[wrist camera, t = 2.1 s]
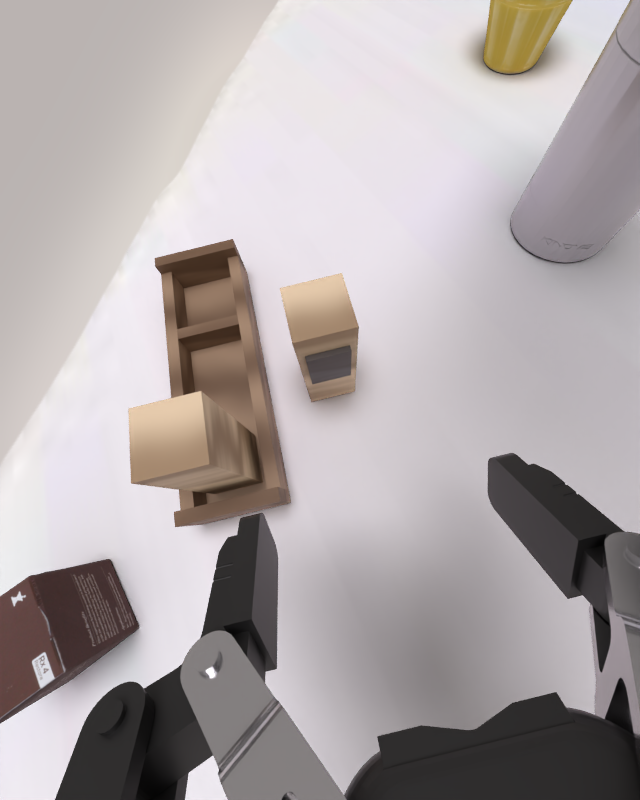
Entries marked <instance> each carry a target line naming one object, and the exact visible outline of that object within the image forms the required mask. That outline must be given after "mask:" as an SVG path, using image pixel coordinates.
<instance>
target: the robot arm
mask: <svg viewBox="0 0 640 800" xmlns="http://www.w3.org/2000/svg"><path fill="white" fill-rule="evenodd" d="M639 210H640V0H630V2H629V4H628V5H627V7H626V9H625V11H624V13H623V14H622V16H621V18H620V20H619V22H618V24H617V26H616V28H615V29H614V31H613V33H612V35H611V37H610V38H609V40H608V42H607V44H606V46H605V47H604V49H603V51H602V53H601V55H600V56H599V58H598V60H597V62H596V64H595V65H594V67H593V69H592V71H591V73H590V74H589V76H588V78H587V80H586V82H585V83H584V85H583V87H582V89H581V91H580V92H579V94H578V96H577V98H576V100H575V101H574V103H573V105H572V107H571V109H570V110H569V112H568V114H567V116H566V118H565V119H564V121H563V123H562V125H561V127H560V128H559V130H558V132H557V134H556V136H555V137H554V139H553V141H552V143H551V145H550V146H549V148H548V150H547V152H546V154H545V155H544V157H543V159H542V161H541V163H540V164H539V166H538V168H537V170H536V172H535V173H534V175H533V177H532V179H531V180H530V182H529V184H528V186H527V188H526V189H525V191H524V193H523V195H522V197H521V198H520V200H519V202H518V204H517V206H516V208H515V210H514V211H513V213H512V217H511V229H512V231H513V234H514V236H515V238H516V239H517V241H518V242H519V243H520V244H521V245H522V246H523V247H524V248H525V249H526V250H528V251H529V252H531V253H533V254H534V255H536V256H539V257H541V258H543V259H547V260H551V261H555V262H576V261H580V260H584V259H587V258H589V257H591V256H593V255H595V254H596V253H597V252H599V251H600V250H601V249H602V248H603V247H604V246H605V245H606V244H607V243H608V242H609V241H610V240H611V239H612V238H613V237H614V235H615V234H616V233H617V232H618V231H619V230H620V229H621V228H622V227H623V226H624V225H625V224H626V223H627V222H628V221H629V220H630V219H631V218H632V217H633V216H634V215H635V214H636V213H637V212H638V211H639ZM488 496H489V499H490V502H491V504H492V506H493V508H494V509H495V511H496V512H497V513H498V514H499V515H500V517H501V518H502V519H503V520H504V522H505V523H506V524H507V525H508V526H509V528H510V529H511V530H512V531H513V532H514V534H515V535H516V536H517V537H518V539H519V540H520V541H521V542H522V543H523V545H524V546H525V547H526V548H527V550H528V551H529V552H530V553H531V554H532V556H533V557H534V558H535V559H536V561H537V562H538V563H539V564H540V565H541V567H542V568H543V569H544V570H545V572H546V573H547V574H548V575H549V576H550V578H551V579H552V580H553V581H554V582H555V584H556V585H557V586H558V587H559V589H560V590H561V591H562V592H563V593H564V595H565V596H566V597H567V598H568V599H569V598H573V597H577V596H581V595H583V596H584V597H585V598H586V599H587V600H588V601H589V602H590V607H589V613H590V623H591V634H592V644H593V654H594V665H595V675H596V692H595V715H594V714H591V713H588V712H585V711H581V710H577V709H573V708H566V707H565V706H564V704H563V702H562V701H561V699H560V697H559V696H558V694H557V693H556V692H555V693H551V694H547V695H543V696H539V697H535V698H531V699H527V700H523V701H519V702H515V703H512V704H510V705H509V706H508V707H506V708H505V709H503V710H502V711H501V712H499V713H498V714H496V715H495V716H494V717H492V718H491V719H490V720H488V721H487V722H485V723H484V724H483V725H481V726H480V727H478V728H477V729H475V730H459V729H450V728H440V727H430V726H418V727H414V728H410V729H406V730H402V731H398V732H394V733H390V734H385V735H381V736H377V737H378V742H379V747H380V752H378V753H377V754H375V755H374V756H373V757H371V758H370V759H369V760H368V761H367V762H366V763H365V764H364V765H363V766H362V768H361V769H360V770H359V771H358V773H357V774H356V775H355V777H354V778H353V780H352V782H351V783H350V785H349V787H348V789H347V790H346V793H345V795H343V794H342V792H341V791H340V789H339V788H338V786H337V785H336V783H335V782H334V780H333V779H332V778H331V776H330V775H329V773H328V772H327V770H326V769H325V767H324V766H323V764H322V763H321V762H320V760H319V759H318V757H317V756H316V754H315V753H314V751H313V750H312V748H311V747H310V746H309V744H308V743H307V741H306V740H305V738H304V737H303V735H302V734H301V733H300V731H299V730H298V728H297V727H296V725H295V724H294V722H293V721H292V719H291V718H290V717H289V715H288V714H287V712H286V711H285V709H284V708H283V707H282V705H281V704H280V703H279V701H277V700H276V699H275V697H274V696H273V695H272V693H271V692H270V690H269V689H268V687H267V686H266V684H265V672H266V671H270V670H274V669H277V605H278V555H277V549H276V545H275V542H274V539H273V537H272V534H271V532H270V529H269V526H268V524H267V521H266V519H265V516H264V514H263V513H260V514H255V515H251V516H247V517H243V518H241V519H240V522H239V528H238V534H237V535H236V536H232V537H228V538H227V540H226V541H225V543H224V545H223V546H222V548H221V550H220V551H219V555H218V560H217V564H216V570H215V574H214V579H213V580H214V582H213V584H212V588H211V593H210V598H209V603H208V608H207V613H206V617H205V622H204V627H203V631H202V635H201V638H200V639H199V640H198V641H197V642H196V643H195V644H194V645H193V646H192V648H191V649H190V650H189V652H188V653H187V655H186V657H185V659H184V662H183V664H182V665H180V666H179V667H178V668H177V669H175V670H174V671H172V672H170V673H169V674H167V675H166V676H164V677H162V678H161V679H159V680H157V681H156V682H154V683H153V684H151V685H149V686H148V687H146V688H144V689H143V687H142V686H141V685H140V684H138V683H136V682H126V683H123V684H120V685H118V686H117V687H115V688H113V689H112V690H110V691H109V692H108V693H107V694H106V695H105V696H103V697H102V698H101V700H100V701H99V702H98V703H97V704H96V705H95V707H94V708H93V709H92V711H91V712H90V714H89V715H88V717H87V719H86V721H85V723H84V725H83V727H82V730H81V732H80V735H79V738H78V740H77V743H76V746H75V748H74V751H73V753H72V756H71V759H70V761H69V764H68V767H67V769H66V772H65V775H64V777H63V780H62V783H61V785H60V788H59V791H58V793H57V796H56V799H55V800H185V794H186V787H187V780H188V773H189V772H190V771H192V770H193V769H194V768H196V767H197V766H198V765H200V764H201V763H203V762H204V761H205V760H207V759H208V758H210V757H211V756H212V755H213V756H214V758H215V760H216V762H217V765H218V768H219V772H218V775H219V779H220V782H221V784H222V787H223V789H224V792H225V794H226V796H227V799H228V800H640V534H637V533H632V532H624V531H623V530H622V529H620V528H619V527H618V526H617V525H615V524H614V523H613V522H612V521H611V520H609V519H608V518H607V517H606V516H605V515H603V514H602V513H601V512H600V511H598V510H597V509H596V508H595V507H594V506H592V505H591V504H590V503H589V502H588V501H586V500H585V499H584V498H583V497H581V496H580V495H579V494H578V495H577V494H576V492H575V491H574V490H573V489H572V488H571V487H569V486H568V485H565V483H564V482H563V481H562V480H561V479H560V478H558V477H557V476H556V475H555V474H554V473H552V472H551V471H549V470H547V469H544V468H542V467H540V466H538V465H536V464H531V465H528V464H527V463H525V462H524V461H523V460H522V459H521V458H520V457H518V456H517V455H516V454H514V453H509V454H505V455H501V456H497V457H493V458H490V459H489V461H488Z"/></svg>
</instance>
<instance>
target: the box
mask: <svg viewBox="0 0 640 800" xmlns="http://www.w3.org/2000/svg"><path fill="white" fill-rule="evenodd" d="M138 628H139V626H138V624H137V622H136V620H135V617H134V615H133V612H132V610H131V608H130V605H129V603H128V601H127V599H126V596H125V594H124V591H123V589H122V587H121V585H120V583H119V580H118V578H117V576H116V573H115V571H114V569H113V566H112V564H111V562H110V560H109V559H106V560H102V561H97V562H92V563H87V564H84V565H79V566H74V567H70V568H66V569H60V570H55V571H49V572H44V573H41V574H38V575H31V576H29V577H27V578H26V579H25V580H23V581H22V582H20V583H19V584H17V585H16V586H15V587H13V588H12V589H10V590H9V591H7V592H6V593H5V594H3V595H2V596H0V723H2V722H4V721H5V720H7V719H8V718H10V717H12V716H13V715H15V714H16V713H18V712H20V711H21V710H23V709H24V708H26V707H28V706H29V705H31V704H33V703H34V702H36V701H38V700H39V699H41V698H42V697H44V696H46V695H47V694H49V693H51V692H52V691H54V690H56V689H57V688H59V687H61V686H62V685H64V684H65V683H67V682H69V681H70V680H71V679H73V678H74V677H75V676H77V675H78V674H79V673H81V672H82V671H83V670H85V669H86V668H87V667H89V666H90V665H91V664H93V663H94V662H95V661H97V660H98V659H99V658H101V657H102V656H103V655H105V654H106V653H107V652H108V651H110V650H111V649H112V648H114V647H115V646H116V645H118V644H119V643H120V642H121V641H123V640H124V639H125V638H127V637H128V636H129V635H131V634H132V633H134V632H135V631H136V630H137V629H138Z"/></svg>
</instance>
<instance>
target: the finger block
mask: <svg viewBox="0 0 640 800" xmlns="http://www.w3.org/2000/svg"><path fill="white" fill-rule="evenodd" d="M280 291H281V296H282V300H283V304H284V309H285V313H286V317H287V322H288V326H289V330H290V335H291V339H292V343H293V347H294V350H295V353H296V356H297V359H298V362H299V365H300V368H301V371H302V374H303V377H304V380H305V383H306V386H307V389H308V392H309V396H310V399H311V402H314V401H318V400H322V399H326V398H330V397H334V396H338V395H342V394H346V393H350V392H354V391H355V377H356V361H357V345H358V329H359V326H358V323H357V320H356V317H355V314H354V310H353V307H352V304H351V301H350V298H349V294H348V291H347V288H346V285H345V282H344V278H343V275H342V273H340V274H336V275H332V276H328V277H324V278H320V279H316V280H312V281H307V282H303V283H299V284H295V285H291V286H287V287H283V288H280Z"/></svg>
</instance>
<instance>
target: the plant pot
mask: <svg viewBox="0 0 640 800" xmlns="http://www.w3.org/2000/svg"><path fill="white" fill-rule="evenodd" d="M571 2H572V0H491V2H490V10H489V18H488V26H487V34H486V42H485V49H484V62H485V64H486V65H487V66H488V67H489V68H490V69H492V70H494V71H496V72H499V73H505V74H515V73H521V72H524V71H526V70H528V69H530V68H532V67H533V66H534V65H535V64H536V62H537V61H538V59H539V57H540V56H541V54H542V52H543V50H544V48H545V47H546V45H547V43H548V42H549V40H550V38H551V36H552V35H553V33H554V31H555V30H556V28H557V26H558V24H559V23H560V21H561V19H562V17H563V16H564V14H565V12H566V11H567V9H568V7H569V6H570V4H571Z"/></svg>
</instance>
